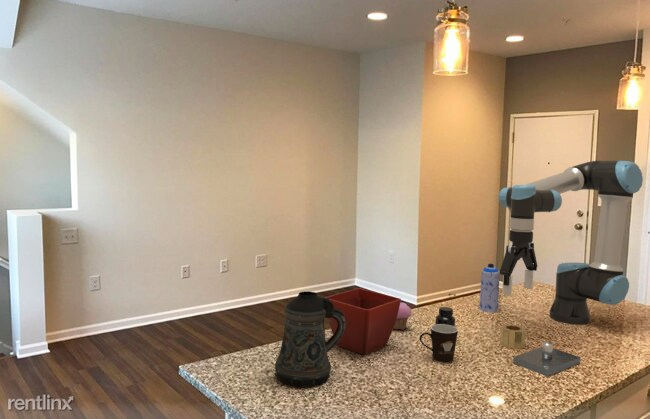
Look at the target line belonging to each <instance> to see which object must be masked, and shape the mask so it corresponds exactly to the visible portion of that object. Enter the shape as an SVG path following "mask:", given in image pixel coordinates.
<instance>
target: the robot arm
mask: <svg viewBox="0 0 650 419" xmlns="http://www.w3.org/2000/svg"><path fill="white" fill-rule="evenodd" d="M643 177H644V176H643V173H642V170H641V168H640V166H639V165H638V164H637V163H636V162H633V161H627V160H590V161H587V162H583V163H580V164H577V165H573V166H571V167H568V168H566V169H564V171H563V172H561V173H557V174H554V175H551V176H548V177H545V178H541V179H539V180H536V181H531V182H528V183H526V184H514V185H512V186H508V187H504V188H502V189H501V190H500V191H499V193H498V196H497V197H498V202H499V205H500V206H501V207H503V208H508V209H510V220H509V229H510V230H509V234H508V236H509V237H508V239H509V240H508V241H510V242H511V243H512V244H511V245H506V246H505V253H504V257H503V260H502V263H501V266H500V270H499V273H500V275H501V276H503V281H502V282H503V284H502V295H507V296H509V297H510V296H512V290H513V289H512V288H513V287H512V286H513V275H512V274H513V272H514V270H515V267H516V265H517V263H518V261H520V260H521V259H522V261H523V263H524V266H525V268H526V269H525V270H524V282H523V283H524V284H523V288H524V289H527V290H533V284H534V283H533V281H534V272H535V271H536V272H537V269H538V262H537V256H536V253H535V252H536V251H535V243H534V242H533V240H534V232H533V231H534V227H535V226H534V224H535V221H534V220H535V213H551V212H556V211H558V210H560V208H561V207H562V202H563V199H562V195H561V194H564V193H566V192H569V191H570V192H579V191H581V190H591V191H597V196H598V197H599V198H600V199H601V204H600V210H599V211H600V212H599V219H598V227H597V228H598V230H597V235H596V236H597V237H596V243H595V244H596V245H595V252H594V258H593V259H594V260H593V262H591V263H590V264H589V263H586V262H561V263H559V264H558V265H557V269H556V273H555V274H556V275H555V295H554V297H555V298H554V299H553V300H554V301H553V302H552V305H551V307H550V309H549V318H551V319H552V320H555V321H558V322H560V323H565V324H573V325H585V324H590V322H591V318H592V317H591V312H590V309H589V305H588V302H587V301H588V300H592V301H596V302H598V303H600V304H607V305H611V306H614V305H618V304H619V303H620V304H621V303H622V301H623V300H624V299H625V298H626V296H627V295H628V292H629V290H630V282H629V279H628V278H627V277H626V276H625V275H624V269H623V267H622V266H621V256H622V247H623V240H624V232H625V225H626V217H627V209H628V203H629V201H631V200H632V199H633V198H634V194H636V193H638V192H639V191H640V190H641V188H642V186H643V182H644V179H643Z"/></svg>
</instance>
